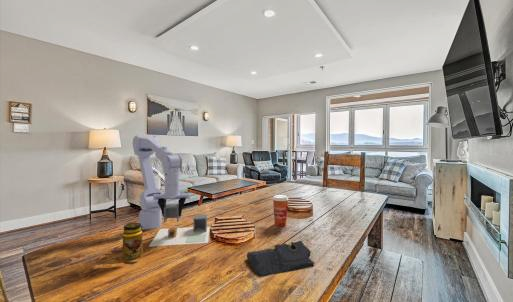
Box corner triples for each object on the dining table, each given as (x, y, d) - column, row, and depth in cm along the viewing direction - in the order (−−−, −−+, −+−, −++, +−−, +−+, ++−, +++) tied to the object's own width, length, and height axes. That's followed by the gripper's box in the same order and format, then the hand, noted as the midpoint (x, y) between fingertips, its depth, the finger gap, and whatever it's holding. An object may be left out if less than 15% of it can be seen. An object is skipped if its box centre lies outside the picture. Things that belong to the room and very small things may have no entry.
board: (148, 249, 88) (148, 246, 88) (160, 231, 106) (160, 228, 106) (208, 245, 92) (208, 242, 92) (209, 228, 110) (209, 226, 110)
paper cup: (270, 226, 113) (270, 197, 112) (275, 221, 120) (275, 194, 120) (286, 228, 110) (286, 198, 110) (290, 223, 117) (290, 195, 117)
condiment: (132, 265, 77) (132, 229, 77) (112, 261, 80) (112, 226, 79) (149, 254, 84) (148, 221, 84) (130, 251, 87) (129, 219, 86)
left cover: (164, 222, 95) (163, 207, 95) (167, 217, 100) (166, 204, 100) (178, 221, 96) (178, 207, 96) (180, 217, 101) (180, 203, 101)
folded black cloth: (242, 256, 84) (242, 243, 84) (296, 247, 92) (296, 235, 92) (257, 280, 70) (257, 264, 69) (319, 266, 77) (320, 252, 77)
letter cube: (168, 237, 97) (168, 230, 96) (169, 234, 100) (169, 227, 100) (175, 237, 97) (175, 230, 97) (176, 234, 100) (176, 227, 100)
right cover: (193, 232, 102) (193, 218, 102) (194, 227, 108) (194, 214, 108) (206, 231, 103) (206, 218, 103) (207, 227, 109) (207, 214, 108)
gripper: (150, 186, 92) (151, 220, 93) (188, 185, 95) (189, 218, 95) (155, 183, 99) (156, 214, 100) (190, 182, 102) (191, 213, 102)
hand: (172, 216), depth 98 cm, fingers closed on left cover, 5 cm apart
